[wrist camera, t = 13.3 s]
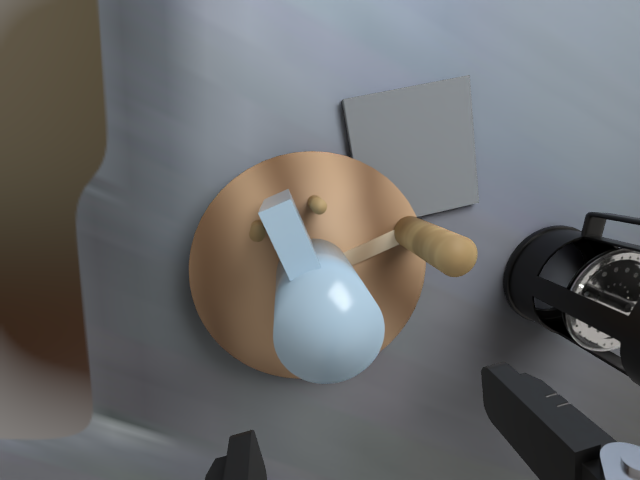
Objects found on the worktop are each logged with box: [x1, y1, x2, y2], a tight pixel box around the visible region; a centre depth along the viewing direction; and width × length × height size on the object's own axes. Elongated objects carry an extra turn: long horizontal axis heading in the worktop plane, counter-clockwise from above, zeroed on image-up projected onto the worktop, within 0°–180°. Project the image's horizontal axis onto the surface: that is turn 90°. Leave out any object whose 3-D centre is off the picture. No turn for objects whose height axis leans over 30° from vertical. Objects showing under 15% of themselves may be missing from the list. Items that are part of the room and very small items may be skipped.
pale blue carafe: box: [258, 189, 385, 384], centre depth 21 cm, size 10×6×9 cm, turn 23°
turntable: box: [189, 151, 477, 379], centre depth 23 cm, size 18×18×8 cm
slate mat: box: [342, 75, 479, 217], centre depth 27 cm, size 10×10×1 cm
